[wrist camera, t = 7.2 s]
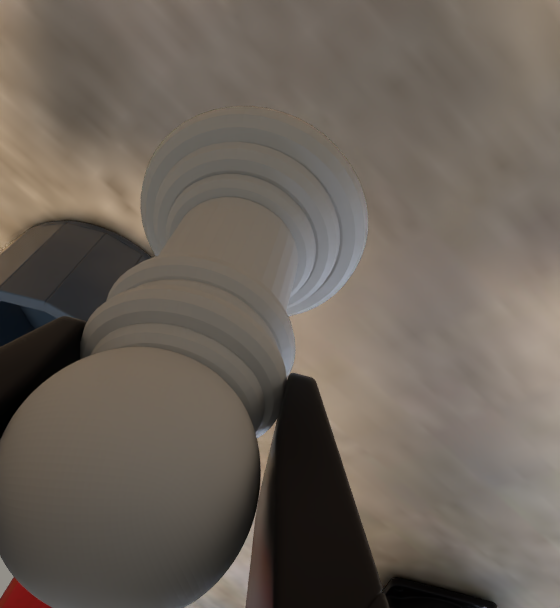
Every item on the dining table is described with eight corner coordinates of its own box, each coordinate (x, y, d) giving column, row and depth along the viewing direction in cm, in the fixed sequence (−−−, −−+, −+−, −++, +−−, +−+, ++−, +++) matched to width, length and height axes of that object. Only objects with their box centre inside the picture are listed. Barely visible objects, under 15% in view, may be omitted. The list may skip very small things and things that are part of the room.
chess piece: (181, 304, 15) (-13, 673, 8) (121, 111, 12) (-304, 430, 4) (373, 300, 13) (357, 731, 6) (363, 86, 10) (313, 461, 3)
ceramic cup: (189, 247, 19) (142, 326, 16) (179, 385, 24) (141, 469, 20) (-9, 199, 19) (-100, 266, 16) (20, 345, 24) (-45, 422, 21)
